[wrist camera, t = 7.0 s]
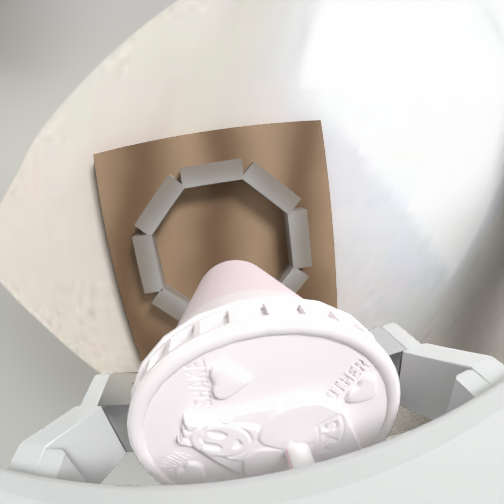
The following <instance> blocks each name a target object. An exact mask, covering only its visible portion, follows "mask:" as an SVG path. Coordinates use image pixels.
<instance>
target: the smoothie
mask: <svg viewBox="0 0 504 504" xmlns="http://www.w3.org/2000/svg"><path fill="white" fill-rule="evenodd" d="M399 404H400V382H399V377H398V374H397V371H396V368H395V366H394V364H393V362H392V360H391V358H390V357H389V355H388V354H387V352H386V351H385V350H384V349H383V348H382V347H381V346H380V345H379V344H378V343H377V342H376V340H375V338H374V336H373V334H372V333H370V332H369V331H368V330H367V329H366V328H365V327H364V326H363V325H362V324H360V323H359V322H358V321H357V320H356V319H355V318H354V317H353V316H351V315H350V314H348V313H346V312H343V311H341V310H339V309H336V308H334V307H332V306H329V305H327V304H325V303H322V302H320V301H315V300H308V299H303V298H301V297H300V296H299V295H297V294H296V293H294V292H293V291H292V290H290V289H289V288H287V287H286V286H284V285H283V284H282V283H280V282H279V281H277V280H276V279H275V278H273V277H272V276H270V275H269V274H268V273H266V272H265V271H263V270H262V269H260V268H259V267H258V266H256V265H254V264H252V263H250V262H247V261H242V260H230V261H225V262H222V263H220V264H218V265H216V266H214V267H213V268H211V269H210V270H209V271H208V272H207V273H206V274H205V275H204V277H203V278H202V280H201V282H200V284H199V286H198V287H197V289H196V291H195V293H194V295H193V297H192V299H191V301H190V302H189V304H188V306H187V308H186V310H185V312H184V314H183V316H182V318H181V319H180V321H179V323H178V325H177V327H176V328H175V329H174V330H172V331H171V332H169V333H168V334H166V335H165V336H163V338H162V339H161V340H160V341H159V342H158V343H157V345H156V346H155V347H154V348H153V349H152V351H151V352H150V353H149V354H148V355H147V357H146V358H145V359H144V360H143V361H142V363H141V365H140V368H139V371H138V373H137V376H136V378H135V381H134V384H133V386H132V389H131V403H130V407H129V411H128V420H127V428H128V436H129V441H130V444H131V447H132V449H133V452H134V454H135V455H136V457H137V459H138V461H139V462H140V463H141V465H142V466H143V468H144V469H145V470H146V471H147V472H148V473H149V474H150V475H151V476H152V477H153V478H154V479H155V480H156V481H157V482H159V483H160V484H162V485H185V484H199V483H210V482H219V481H228V480H235V479H242V478H248V477H255V476H260V475H266V474H271V473H276V472H281V471H286V470H290V469H294V468H299V467H303V466H307V465H311V464H314V463H318V462H322V461H325V460H329V459H332V458H336V457H339V456H342V455H346V454H349V453H352V452H355V451H358V450H361V449H364V448H367V447H369V446H372V445H375V444H378V443H380V442H383V441H385V440H386V438H387V436H388V435H389V433H390V431H391V429H392V427H393V424H394V422H395V419H396V416H397V413H398V409H399Z"/></svg>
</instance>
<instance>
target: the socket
mask: <svg viewBox="0 0 504 504" xmlns="http://www.w3.org/2000/svg"><path fill="white" fill-rule="evenodd" d="M94 163H95V171H96V178H97V184H98V191H99V197H100V203H101V209H102V214H103V219H104V225H105V230H106V235H107V239H108V244H109V249H110V253H111V257H112V262H113V266H114V270H115V274H116V278H117V282H118V286H119V290H120V293H121V297H122V301H123V304H124V308H125V311H126V315H127V318H128V322H129V325H130V328H131V331H132V335H133V338H134V341H135V344H136V347H137V350H138V353H139V356H140V359H141V361H143V360H144V359H145V358H146V357H147V355H148V354H149V353H150V352H151V351H152V349H153V348H154V347H155V346H156V345H157V343H158V342H159V341H160V340H161V339H162V338H163V336H165V335H166V334H168V333H169V332H171V331H172V330H174V329H175V328H176V327H177V325H178V323H179V321H180V319H181V318H182V316H183V314H184V312H185V310H186V308H187V306H188V304H189V302H190V301H191V299H192V297H193V295H194V293H195V291H196V289H197V287H198V286H199V284H200V282H201V280H202V278H203V277H204V275H205V274H206V273H207V272H208V271H209V270H210V269H211V268H213V267H214V266H216V265H218V264H220V263H222V262H225V261H230V260H242V261H247V262H250V263H252V264H254V265H256V266H258V267H259V268H260V269H262V270H263V271H265V272H266V273H268V274H269V275H270V276H272V277H273V278H275V279H276V280H277V281H279V282H280V283H282V284H283V285H284V286H286V287H287V288H289V289H290V290H292V291H293V292H294V293H296V294H297V295H299V296H300V297H301V298H303V299H308V300H315V301H320V302H322V303H325V304H327V305H329V306H332V307H334V308H336V309H337V289H336V269H335V252H334V238H333V225H332V213H331V202H330V192H329V182H328V173H327V165H326V157H325V149H324V141H323V134H322V127H321V120H316V121H299V122H285V123H273V124H262V125H252V126H243V127H235V128H227V129H220V130H213V131H206V132H199V133H193V134H187V135H181V136H176V137H170V138H165V139H159V140H154V141H149V142H145V143H140V144H135V145H131V146H126V147H122V148H118V149H114V150H109V151H105V152H101V153H98V154H94Z"/></svg>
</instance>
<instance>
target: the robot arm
mask: <svg viewBox="0 0 504 504" xmlns="http://www.w3.org/2000/svg"><path fill="white" fill-rule="evenodd" d="M368 331H369V332H370V333H372V334H373V336H374V338H375V340H376V342H377V343H378V344H379V345H380V346H381V347H382V348H383V349H384V350H385V351H386V352H387V354H388V355H389V357H390V358H391V360H392V362H393V364H394V366H395V368H396V371H397V374H398V377H399V382H400V404H399V405H401V406H403V407H405V408H407V409H410V410H412V411H414V412H416V413H418V414H421V415H423V416H425V417H427V418H430V419H432V421H430V422H428V423H425V424H423V425H421V426H419V427H417V428H414V429H412V430H410V431H408V432H405V433H403V434H400V435H398V436H396V437H393V438H391V439H388V440H386V441H383V442H380V443H378V444H375V445H372V446H369V447H367V448H364V449H361V450H358V451H355V452H352V453H349V454H346V455H342V456H339V457H336V458H332V459H329V460H325V461H322V462H318V463H314V464H311V465H307V466H303V467H299V468H294V469H290V470H286V471H281V472H276V473H271V474H266V475H260V476H255V477H248V478H242V479H235V480H228V481H219V482H210V483H199V484H185V485H162V486H132V485H108V484H101V482H102V481H103V480H104V479H105V478H106V477H107V476H108V475H109V473H110V472H111V471H112V470H113V469H114V468H115V467H116V465H117V464H118V463H119V462H120V461H121V460H122V458H123V457H124V456H125V455H126V454H127V453H126V452H133V449H132V447H131V444H130V441H129V436H128V428H127V420H128V411H129V407H130V403H131V389H132V386H133V384H134V381H135V378H136V376H137V373H138V372H127V373H112V374H111V373H108V374H98V375H95V376H94V378H93V380H92V382H91V385H90V387H89V389H88V391H87V393H86V395H85V397H84V399H83V401H82V404H81V406H75V407H74V408H73V409H71V410H70V411H68V412H67V413H65V414H64V415H62V416H61V417H59V418H58V419H56V420H55V421H53V422H52V423H50V424H49V425H47V426H46V427H44V428H43V429H41V430H40V431H38V432H37V433H35V434H34V435H32V436H31V437H29V438H28V439H27V440H25V441H23V442H22V443H21V444H20V445H19V448H18V449H17V451H16V453H15V455H14V457H13V459H12V461H11V463H10V465H9V467H8V469H6V468H2V467H0V504H504V365H503V364H502V363H501V362H499V361H498V360H496V359H495V358H494V357H492V356H489V355H484V354H478V353H473V352H468V351H462V350H457V349H452V348H447V347H442V346H438V345H433V344H428V343H424V344H420V343H419V342H418V341H417V340H416V339H414V338H413V337H412V336H411V335H410V334H408V333H407V332H406V331H405V330H404V329H402V328H401V327H400V326H399V325H398V324H396V323H394V322H391V323H388V324H385V325H382V326H379V327H376V328H373V329H370V330H368Z"/></svg>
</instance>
